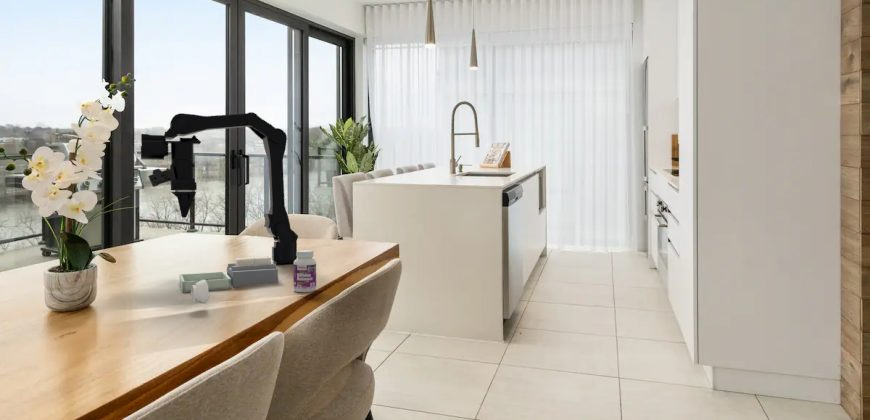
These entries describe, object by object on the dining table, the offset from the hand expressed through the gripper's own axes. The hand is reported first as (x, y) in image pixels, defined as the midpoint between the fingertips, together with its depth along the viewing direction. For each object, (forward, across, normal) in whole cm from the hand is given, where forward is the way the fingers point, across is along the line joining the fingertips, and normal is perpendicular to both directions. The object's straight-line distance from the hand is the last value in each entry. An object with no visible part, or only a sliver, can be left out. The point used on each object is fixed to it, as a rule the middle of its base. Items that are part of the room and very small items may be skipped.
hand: (183, 216), depth 155 cm
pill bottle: (+17, +35, +26) cm, 47 cm away
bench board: (+17, +17, +16) cm, 29 cm away
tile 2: (+13, +17, +18) cm, 28 cm away
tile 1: (+13, +17, +14) cm, 26 cm away
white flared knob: (+17, +40, +2) cm, 44 cm away
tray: (+17, +18, +4) cm, 25 cm away
